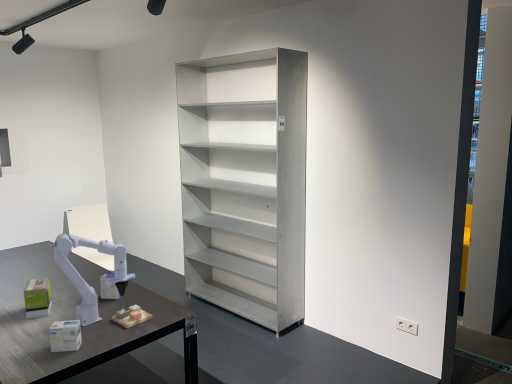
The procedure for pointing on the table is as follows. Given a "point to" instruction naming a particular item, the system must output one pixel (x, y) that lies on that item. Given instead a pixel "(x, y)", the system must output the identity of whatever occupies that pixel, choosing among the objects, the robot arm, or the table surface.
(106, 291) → the ink cartridge box
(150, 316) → the button board
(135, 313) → the tile one
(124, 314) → the tile three
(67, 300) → the table surface
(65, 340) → the light bulb box
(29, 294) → the tea box
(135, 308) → the tile two
